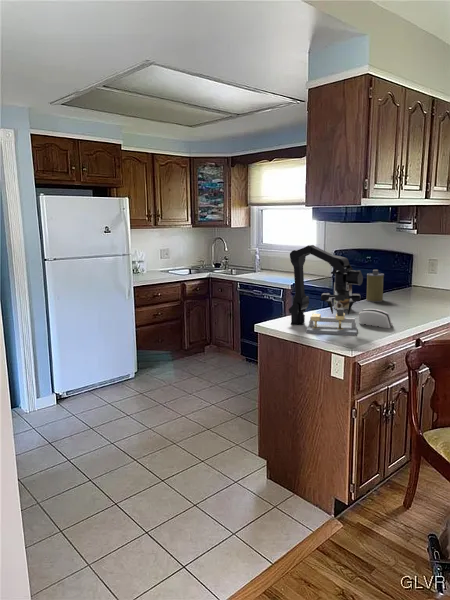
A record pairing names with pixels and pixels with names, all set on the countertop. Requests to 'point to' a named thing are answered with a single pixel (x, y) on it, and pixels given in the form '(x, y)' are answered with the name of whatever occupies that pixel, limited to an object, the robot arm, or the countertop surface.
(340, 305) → the coffee box
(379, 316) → the white curved block
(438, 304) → the countertop surface
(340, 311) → the block
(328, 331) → the plate
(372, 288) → the canister
